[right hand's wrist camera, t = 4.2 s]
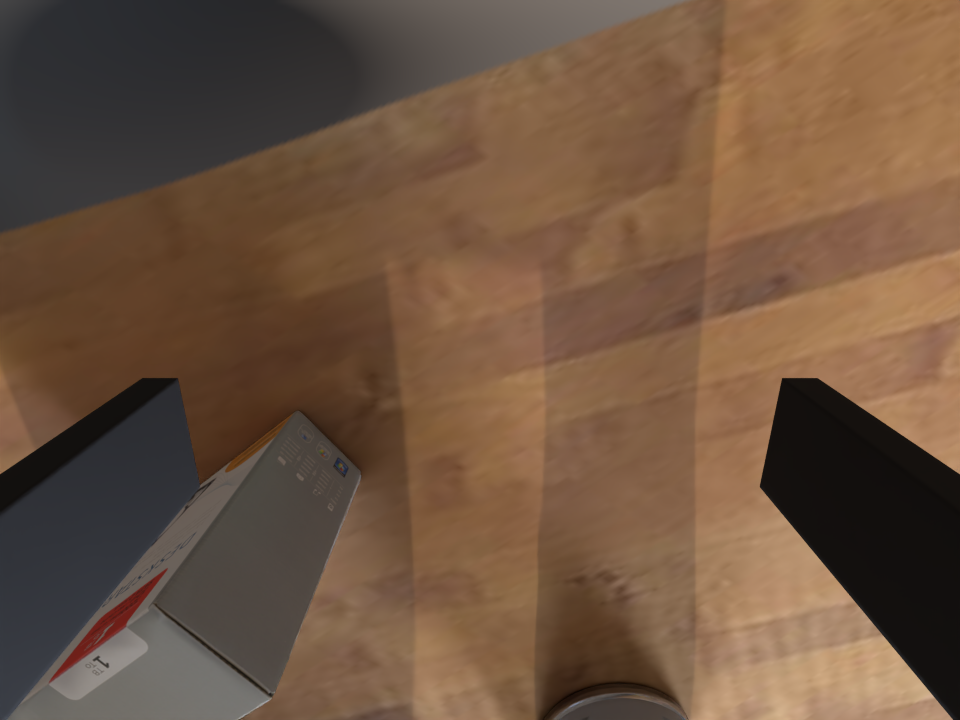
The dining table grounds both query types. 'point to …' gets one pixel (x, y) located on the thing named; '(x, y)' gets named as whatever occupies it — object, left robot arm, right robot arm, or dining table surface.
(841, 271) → the dining table surface
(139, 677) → the hard drive box
